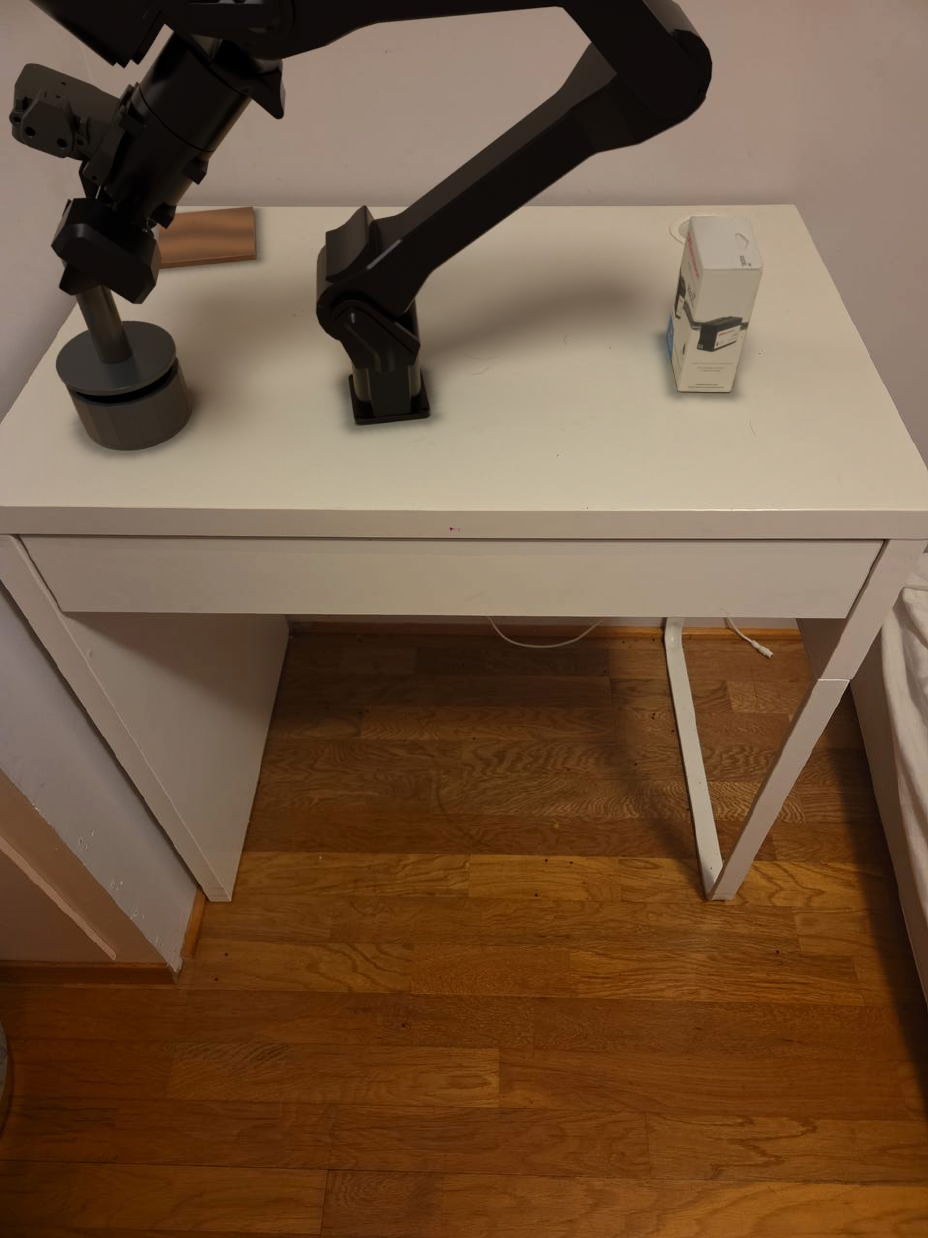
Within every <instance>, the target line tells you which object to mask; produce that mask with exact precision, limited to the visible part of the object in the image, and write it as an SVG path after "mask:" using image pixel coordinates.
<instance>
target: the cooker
mask: <svg viewBox="0 0 928 1238" xmlns="http://www.w3.org/2000/svg"><path fill="white" fill-rule="evenodd" d="M64 385H65V384H64ZM64 387H66V390H67V393H68V395H69V397H70V399H71V402H72V404H73V407H74V409H75V411H76V414H77V415H78V418H79V420H80V422H81V424H82V426H83V428H84V430H85V432H86V434H87V436H88V437H89V438H90V440H92V441H93V442H94V443H96V444H97V445H99V446H101V447H104V448H107V449H111V450H115V451H116V450H117V451H118V450H119V451H136V450H142V449H143V450H144V449H147V448H150V447H154V446H157V445H159V444H161V443H164V442H166V441H168V440H169V439H172V438H173V437H175V436H176V435H177V434H178V433H179V432H181V431H182V429H183V428H184V427H186V425H187V424H188V422H189V420H190V417H191V415H192V409H193V408H192V402H191V396H190V392H189V390H188V386H187V383H186V380H185V376H184V373H183V370H182V367H181V363H180V360H179V358H178V357H177V356H176V358H175V360H174V363H173V364H172V366H171V367H170V369H169V370H168V371H167V372H166V373H165V374H164V375H163V376H161V377H160V378H159V379H157V380H156V381H154V382H153V383H151V384H149V385H147V386H145V387H142V388H140V389H137V390H134V391H131V392H127V393H123V394H117V395H107V396H97V395H89V394H84V393H80V392H77V391H75V390H73V389H71V388H69V387H68V386H66V385H65V386H64Z"/></svg>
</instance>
